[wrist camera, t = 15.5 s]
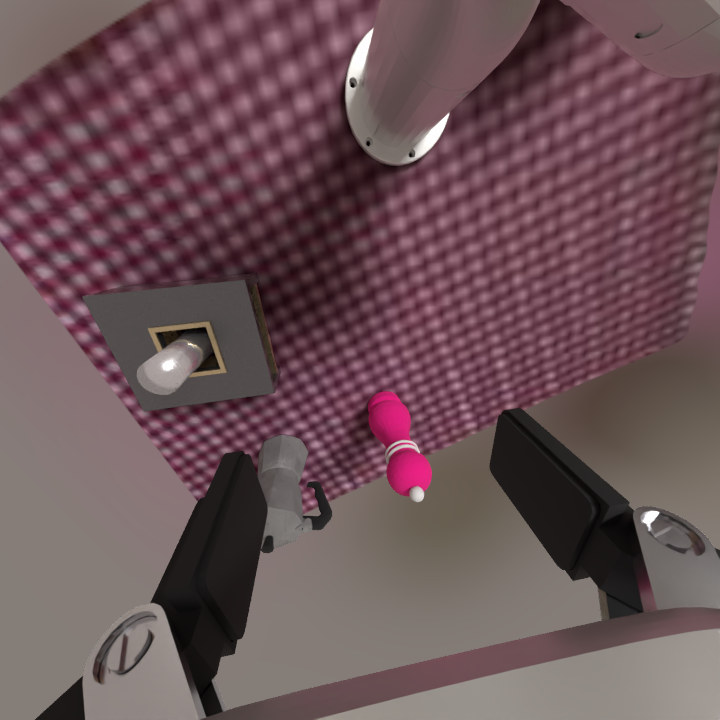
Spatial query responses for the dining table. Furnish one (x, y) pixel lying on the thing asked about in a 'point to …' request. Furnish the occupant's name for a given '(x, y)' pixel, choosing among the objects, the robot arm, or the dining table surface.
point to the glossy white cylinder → (175, 362)
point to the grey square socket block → (184, 311)
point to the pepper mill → (399, 446)
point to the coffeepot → (287, 492)
